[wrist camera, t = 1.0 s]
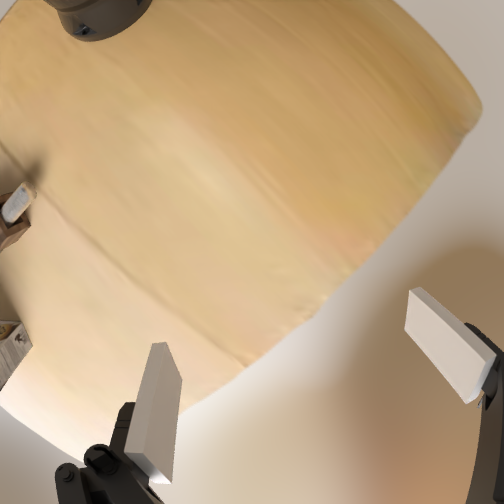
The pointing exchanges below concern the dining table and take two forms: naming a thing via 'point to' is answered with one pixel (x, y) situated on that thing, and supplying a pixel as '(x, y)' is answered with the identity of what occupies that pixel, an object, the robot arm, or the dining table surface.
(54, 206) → the dining table surface
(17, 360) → the coffee box
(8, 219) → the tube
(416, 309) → the robot arm
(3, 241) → the sleeve
